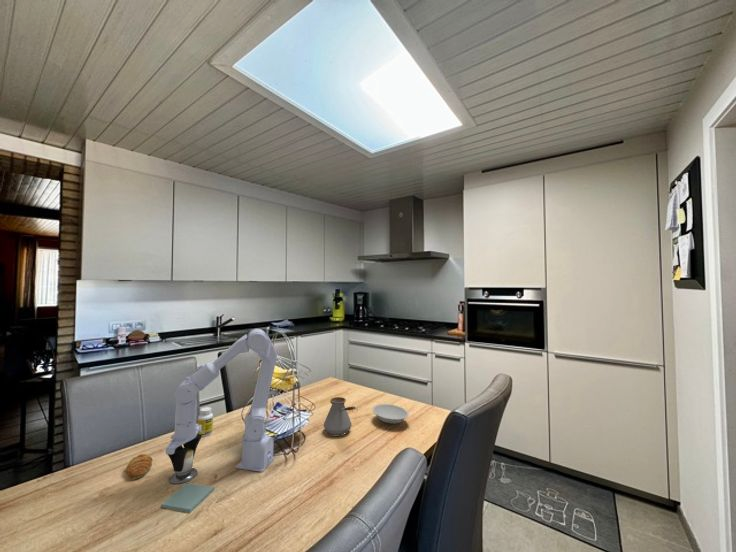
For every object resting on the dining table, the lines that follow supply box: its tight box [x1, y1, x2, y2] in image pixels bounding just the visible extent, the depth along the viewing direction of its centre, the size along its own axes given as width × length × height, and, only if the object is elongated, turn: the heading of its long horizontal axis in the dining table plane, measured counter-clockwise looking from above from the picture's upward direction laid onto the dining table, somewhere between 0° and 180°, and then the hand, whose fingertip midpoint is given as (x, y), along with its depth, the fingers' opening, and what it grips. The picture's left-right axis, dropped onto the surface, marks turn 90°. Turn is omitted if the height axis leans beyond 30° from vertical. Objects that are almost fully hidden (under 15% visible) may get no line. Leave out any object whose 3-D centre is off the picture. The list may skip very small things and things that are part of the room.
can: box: [176, 449, 194, 473], centre depth 93 cm, size 5×5×4 cm
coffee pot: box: [323, 396, 358, 436], centre depth 120 cm, size 21×12×15 cm, turn 29°
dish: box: [372, 403, 409, 425], centre depth 133 cm, size 18×14×5 cm
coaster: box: [160, 482, 215, 514], centre depth 83 cm, size 9×9×1 cm
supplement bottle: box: [196, 406, 214, 438], centre depth 120 cm, size 5×5×10 cm
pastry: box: [125, 453, 153, 481], centre depth 95 cm, size 9×7×4 cm
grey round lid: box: [168, 467, 199, 485], centre depth 93 cm, size 8×8×2 cm
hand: (183, 465), depth 93 cm, fingers closed on can, 5 cm apart
